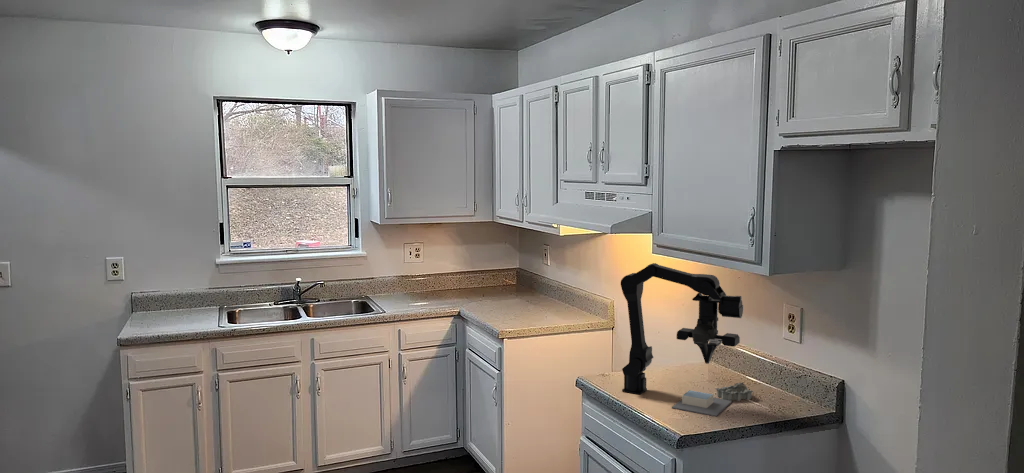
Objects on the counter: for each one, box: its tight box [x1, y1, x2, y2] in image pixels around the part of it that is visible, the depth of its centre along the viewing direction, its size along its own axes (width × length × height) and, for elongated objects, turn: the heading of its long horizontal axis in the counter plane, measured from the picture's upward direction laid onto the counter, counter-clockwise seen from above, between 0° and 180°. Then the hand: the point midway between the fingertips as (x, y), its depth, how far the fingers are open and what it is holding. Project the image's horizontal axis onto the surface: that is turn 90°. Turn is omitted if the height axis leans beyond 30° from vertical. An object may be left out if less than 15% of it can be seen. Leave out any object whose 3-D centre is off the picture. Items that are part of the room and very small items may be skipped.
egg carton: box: [715, 382, 754, 401], centre depth 231 cm, size 11×8×4 cm
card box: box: [681, 390, 714, 408], centre depth 224 cm, size 3×6×8 cm
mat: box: [671, 397, 733, 417], centre depth 224 cm, size 14×16×1 cm
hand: (707, 363), depth 226 cm, fingers closed
